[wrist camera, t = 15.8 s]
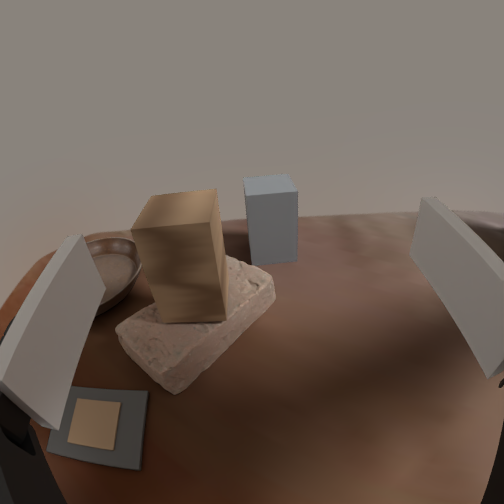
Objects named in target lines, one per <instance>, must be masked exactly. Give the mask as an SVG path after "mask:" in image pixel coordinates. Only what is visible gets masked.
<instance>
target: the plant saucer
mask: <svg viewBox="0 0 504 504" xmlns="http://www.w3.org/2000/svg"><path fill="white" fill-rule="evenodd" d="M86 245H87V247H88V249H89V252H90V254H91V256H92V259H93V261H94V263H95V265H96V268H97V270H98V272H99V274H100V277H101V279H102V281H103V283H104V285H105V287H106V290H105V292H104V295H103V297H102V299H101V302H100V304H99V307H98V309H97V312H96V314H95V316H97V315H100V314H102V313H104V312H106V311H107V310H109V309H111V308H112V307H114V306H115V305H116V304H118V303H119V302H120V301H121V300H122V299H123V298H124V297H125V296H126V295H127V294H128V293H129V292H130V290H131V289H132V287H133V286H134V284H135V282H136V280H137V278H138V275H139V273H140V270H141V267H142V264H141V261H140V258H139V255H138V252H137V248H136V245H135V242H134V241H133V240H130V239H127V238H120V237H110V238H102V239H97V240H93V241H90V242H87V243H86Z"/></svg>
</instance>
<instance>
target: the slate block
mask: <svg viewBox="0 0 504 504" xmlns="http://www.w3.org/2000/svg"><path fill="white" fill-rule="evenodd" d="M243 182H244V193H245V204H246V215H247V226H248V237H249V246H250V253H251V261H252V265H255V266H257V265H267V264H276V263H285V262H294V261H297V245H298V191H297V189H296V187H295V186H294V184H293V182H292V180H291V178H290V176H289V175H288V174H281V175H268V176H257V177H247V178H243Z"/></svg>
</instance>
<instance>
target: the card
mask: <svg viewBox="0 0 504 504" xmlns="http://www.w3.org/2000/svg"><path fill="white" fill-rule="evenodd" d="M148 397H149V392H148V391H135V390H113V389H98V388H86V387H76V386H71V387H70V390H69V394H68V397H67V401H66V404H65V408H64V412H63V416H62V420H61V424H60V428H59V430H54V429H51V432H50V436H49V440H48V445H47V449H46V451H47V452H49V453H52V454H56V455H59V456H63V457H67V458H71V459H75V460H80V461H84V462H89V463H94V464H99V465H105V466H110V467H117V468H124V469H131V470H139V471H141V462H142V450H143V440H144V430H145V421H146V413H147V405H148Z"/></svg>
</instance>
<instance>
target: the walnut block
mask: <svg viewBox="0 0 504 504" xmlns="http://www.w3.org/2000/svg"><path fill="white" fill-rule="evenodd" d="M131 232H132V236H133V239H134V242H135V245H136V248H137V252H138V255H139V258H140V261H141V264H142V267H143V270H144V272H145V275H146V278H147V281H148V284H149V287H150V289H151V292H152V295H153V298H154V300H155V303H156V306H157V308H158V311H159V313H160V316H161V319H162V321H163V323H176V322H208V321H227V306H228V287H229V275H228V268H227V261H226V255H225V248H224V241H223V234H222V226H221V219H220V212H219V205H218V197H217V190H216V189H209V190H199V191H190V192H180V193H172V194H163V195H155V196H151V197H150V199H149V201H148V202H147V204H146V205H145V207H144V209H143V210H142V212H141V213H140V215H139V217H138V218H137V220H136V222H135V223H134V225H133V227H132V228H131Z"/></svg>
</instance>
